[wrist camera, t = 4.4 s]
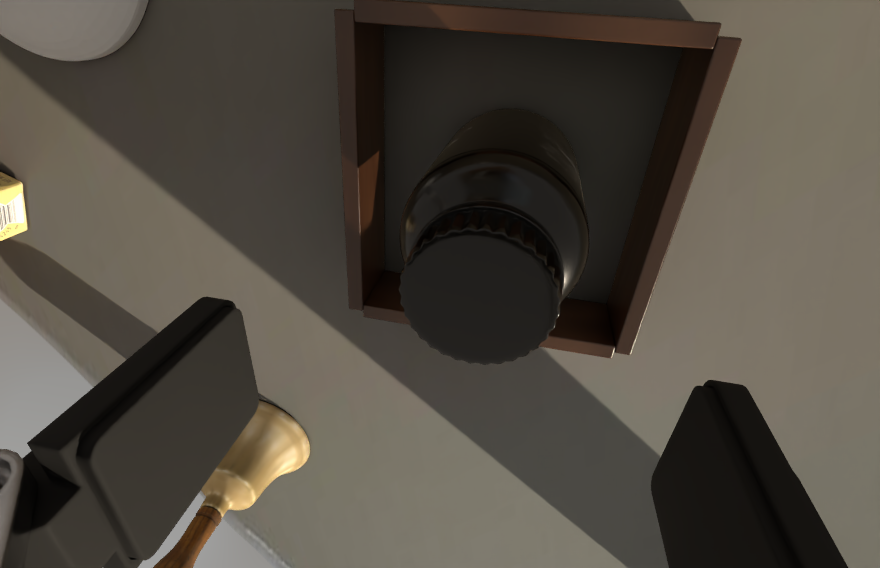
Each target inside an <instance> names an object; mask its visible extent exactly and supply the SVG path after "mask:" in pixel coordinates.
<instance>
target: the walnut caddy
mask: <svg viewBox="0 0 880 568" xmlns="http://www.w3.org/2000/svg"><path fill="white" fill-rule="evenodd" d="M334 14H335V34H336V54H337V74H338V95H339V115H340V135H341V155H342V175H343V195H344V216H345V236H346V256H347V276H348V296H349V308H350V309H355V310H361V311H362V310H363V313H364V317H367V318H373V319H379V320H385V321H391V322H397V323H403V324H409V325H410V321H409V320H408V319H407V318H406V317H405V314H404V308H403V306H402V305H401V303H400V302H401V297H402V296H401V294H400V292H399V286H400V284H401V278H400V275H401V273H398V272H392V271H385V153H384V24H385V25H398V26H411V27H424V28H437V29H450V30H464V31H477V32H490V33H503V34H516V35H529V36H543V37H556V38H569V39H582V40H595V41H608V42H621V43H635V44H648V45H661V46H674V47H683V50H682V53H681V57H680V60H679V64H678V67H677V70H676V74H675V77H674V80H673V84H672V87H671V90H670V94H669V97H668V101H667V104H666V107H665V111H664V114H663V117H662V121H661V124H660V127H659V131H658V134H657V137H656V141H655V144H654V148H653V151H652V154H651V158H650V161H649V164H648V168H647V171H646V174H645V178H644V181H643V185H642V188H641V191H640V195H639V198H638V201H637V205H636V208H635V211H634V215H633V218H632V222H631V225H630V228H629V232H628V235H627V238H626V242H625V245H624V248H623V252H622V255H621V259H620V262H619V265H618V269H617V272H616V275H615V279H614V282H613V285H612V289H611V292H610V295H609V299H608V302H607V306H606V304H602V303H595V302H589V301H582V300H576V299H569V298H566V299H565V300H564V301H562V302H561V312H560V315H559V316H558V318H557V319H556V326H555V328H554V329H553V330H552V331H550V332H549V336H548V339H546V340H545V341H543V342H541V343H540V345H539V346H540V347H546V348H552V349H558V350H564V351H570V352H576V353H582V354H588V355H594V356H600V357H606V358H612V356H613V353H614V351H615V352H616V353H621V354H627V355H630V354H631V352H632V350H633V347H634V344H635V341H636V338H637V335H638V333H639V330H640V327H641V324H642V321H643V318H644V316H645V313H646V310H647V307H648V304H649V301H650V299H651V296H652V293H653V290H654V287H655V285H656V282H657V279H658V276H659V273H660V270H661V268H662V265H663V262H664V259H665V256H666V253H667V251H668V248H669V245H670V242H671V239H672V236H673V234H674V231H675V228H676V225H677V222H678V219H679V217H680V214H681V211H682V208H683V205H684V202H685V200H686V197H687V194H688V191H689V188H690V185H691V183H692V180H693V177H694V174H695V171H696V169H697V166H698V163H699V160H700V157H701V154H702V152H703V149H704V146H705V143H706V140H707V137H708V135H709V132H710V129H711V126H712V123H713V120H714V118H715V115H716V112H717V109H718V106H719V103H720V101H721V98H722V95H723V92H724V89H725V86H726V84H727V81H728V78H729V75H730V72H731V70H732V67H733V64H734V61H735V58H736V55H737V53H738V50H739V47H740V44H741V41H742V39H741V38H735V37H724V36H718V34H719V31H720V28H721V23H717V22H702V21H688V20H673V19H658V18H644V17H629V16H615V15H600V14H585V13H571V12H556V11H541V10H527V9H512V8H498V7H483V6H468V5H454V4H439V3H424V2H410V1H395V0H354V10H350V9H335V10H334Z"/></svg>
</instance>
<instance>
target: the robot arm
mask: <svg viewBox="0 0 880 568" xmlns="http://www.w3.org/2000/svg"><path fill="white" fill-rule="evenodd" d="M258 405H259V395H258V390H257V385H256V380H255V375H254V370H253V366H252V361H251V356H250V351H249V346H248V341H247V336H246V331H245V326H244V321H243V316H242V313H241V311H240V310H239V309H237V308H236V306H235V304H234V303H233V302H232V301H229V300H223V299H217V298H211V297H202V298H201V299H199V300H198V301H197V302H195V303H194V304H193V305H192V306H191V307H189V308H188V309H187V310H186V311H185V312H183V313H182V314H181V315H180V316H179V317H177V318H176V319H175V320H174V321H173V322H171V323H170V324H169V325H168V326H167V327H165V328H164V329H163V330H162V331H161V332H159V333H158V334H157V335H156V336H155V337H154V338H152V339H151V340H150V341H149V342H148V343H146V344H145V345H144V346H143V347H142V348H140V349H139V350H138V351H137V352H136V353H134V354H133V355H132V356H131V357H130V358H128V359H127V360H126V361H125V362H124V363H122V364H121V365H120V366H119V367H118V368H116V369H115V370H114V371H113V372H112V373H110V374H109V375H108V376H107V377H106V378H104V379H103V380H102V381H101V382H100V383H98V384H97V385H96V386H95V387H94V388H93V389H91V390H90V391H89V392H88V393H87V394H85V395H84V396H83V397H82V398H81V399H79V400H78V401H77V402H76V403H75V404H73V405H72V406H71V407H70V408H69V409H67V410H66V411H65V412H64V413H63V414H61V415H60V416H59V417H58V418H57V419H55V420H54V421H53V422H52V423H51V424H50V425H48V426H47V427H46V428H45V429H43V430H42V431H41V432H40V433H39V434H37V435H36V436H35V437H34V438H33V439H31V440H30V441H29V442H28V443H27V444H28V445H29V447H30V449H31V450H32V451H31V452H30V453H29V454H27V455H26V456H25V457H24V458H23V459H22V458H21V457H20V456H19V454H18V453H16V452H13V451H10V450H7V449H0V568H137V567H138V566H139V565H140V564H141V562H142V561H143V560H147V559H149V558H151V557H152V556H153V555H154V554H155V553H156V552H157V550H158V549H159V548H160V546H161V545H162V543H163V542H164V541H165V539H166V538H167V536H168V535H169V534H170V532H171V531H172V529H173V528H174V527H175V525H176V524H177V522H178V521H179V520H180V518H181V517H182V515H183V514H184V512H185V511H186V510H187V508H188V507H189V506H190V504H191V503H192V501H193V500H194V498H195V497H196V496H197V494H198V493H199V492H200V490H201V489H202V487H203V486H204V485H205V483H206V482H207V480H208V479H209V478H210V476H211V475H212V473H213V472H214V471H215V469H216V468H217V466H218V465H219V464H220V462H221V461H222V459H223V458H224V457H225V455H226V454H227V452H228V451H229V450H230V448H231V447H232V445H233V444H234V443H235V441H236V440H237V438H238V437H239V436H240V434H241V433H242V431H243V430H244V429H245V427H246V426H247V424H248V423H249V422H250V420H251V419H252V417H253V416H254V414H255V413H256V411H257V408H258ZM651 491H652V496H653V500H654V505H655V509H656V513H657V518H658V522H659V526H660V531H661V535H662V539H663V544H664V548H665V552H666V556H667V561H668V565H669V568H848V566H847V565H846V563H845V561H844V559H843V557H842V556H841V554H840V552H839V550H838V548H837V547H836V545H835V543H834V541H833V539H832V538H831V536H830V534H829V532H828V530H827V529H826V527H825V525H824V523H823V521H822V520H821V518H820V516H819V514H818V512H817V511H816V509H815V507H814V505H813V503H812V502H811V500H810V498H809V496H808V494H807V493H806V491H805V489H804V487H803V485H802V484H801V482H800V480H799V478H798V477H797V476H796V474H795V473H794V472H793V470H792V469H791V467H790V465H789V463H788V461H787V460H786V458H785V456H784V454H783V452H782V451H781V449H780V447H779V445H778V443H777V441H776V440H775V438H774V436H773V434H772V432H771V431H770V429H769V427H768V425H767V423H766V421H765V420H764V418H763V416H762V414H761V412H760V411H759V409H758V407H757V405H756V403H755V402H754V400H753V398H752V396H751V394H750V392H749V391H748V389H747V388H746V387H745V386H743V385H739V384H733V383H727V382H721V381H715V380H708V381H707V382H705V384H704V385H703V386H696V387H695V388H694V389H693V391H692V393H691V395H690V397H689V399H688V401H687V403H686V405H685V407H684V410H683V412H682V414H681V416H680V418H679V420H678V422H677V424H676V426H675V429H674V431H673V433H672V435H671V437H670V439H669V441H668V443H667V445H666V448H665V450H664V452H663V454H662V456H661V458H660V460H659V462H658V464H657V467H656V469H655V471H654V473H653V476H652V481H651Z"/></svg>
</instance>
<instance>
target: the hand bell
mask: <svg viewBox="0 0 880 568" xmlns="http://www.w3.org/2000/svg"><path fill="white" fill-rule="evenodd" d="M309 454H310V444H309V441H308V438H307V436H306V434H305V432H304V431H303V429H302V428H301V426H300V425H299V424H298V423H297V422H296V420H295V419H294V418H293V417H291V416H290V415H288V414H287V413H286V412H284V411H283V410H281V409H279V408H277V407H275V406H273V405H271V404H269V403H266V402H263V401H260V400H259V405H258V408H257V411H256V413H255V414H254V416H253V417H252V419H251V420H250V422H249V423H248V424H247V426H246V427H245V429H244V430H243V431H242V433H241V434H240V436H239V437H238V438H237V440H236V441H235V443H234V444H233V445H232V447H231V448H230V450H229V451H228V452H227V454H226V455H225V457H224V458H223V459H222V461H221V462H220V464H219V465H218V466H217V468H216V469H215V471H214V472H213V473H212V475H211V476H210V478H209V479H208V480H207V482H206V483H205V485H204V486H203V487H202V489H201V490H202V492H203V493H204V495H205V496H206V499H205V501H204V502H203V504H202V505H201V508H200V509H199V510H198V512H197V513H196V517H194V519H193V520H192V522H191V523H190V525H189V526H188V528H187V530H186V531H185V533H184V534H183V536H182V537H181V539H180V540H179V542H178V543H177V544H176V545H175V547H174V548H173V549H172V550H171V551H170V552H169V553H168V554H167V555H166V556H165V557H164V558H162V559H161V560H160V561H159V562H158V563H157V564H156V565H155V566H154V567H153V568H193V566H194V563H195V561H196V559H197V556H198V554H199V553H200V551H201V549H202V548H203V546H204V545H205V543H206V542H207V540H208V539H209V537H210V536H211V534H212V533H213V531H214V530H215V528H216V526H218V525H219V523H220V522H221V518H222V517H223V515H224V514H225V513H226V511H227V510H228V509H231V510H243V509H246V508H248V507H250V506H251V505H253V503H254V502H255V501H256V500H257V498H258V497H259V496H260V494H261V493H262V492H263V491H264V489H265V488H266V487H267V486H268V485H269V484H270V483H271V482H272V481H273V480H274V479H275V478H277V477H278V476H280V475H282V474H287V473H290V472H293V471H295V470H297V469H298V468H300V467H301V466H302V465H303V464H304V463H305V462H306V461H307V459H308V457H309Z"/></svg>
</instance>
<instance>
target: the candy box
mask: <svg viewBox="0 0 880 568" xmlns="http://www.w3.org/2000/svg"><path fill="white" fill-rule="evenodd" d="M26 230H27V219H26V211H25V203H24V195H23V184H22V182H20V181H18V180H16V179H14V178H12V177H10V176H8V175H6V174H4V173H2V172H0V241H1V240H4V239H6V238H9V237H11V236H13V235H16V234H18V233H21V232H23V231H26Z"/></svg>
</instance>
